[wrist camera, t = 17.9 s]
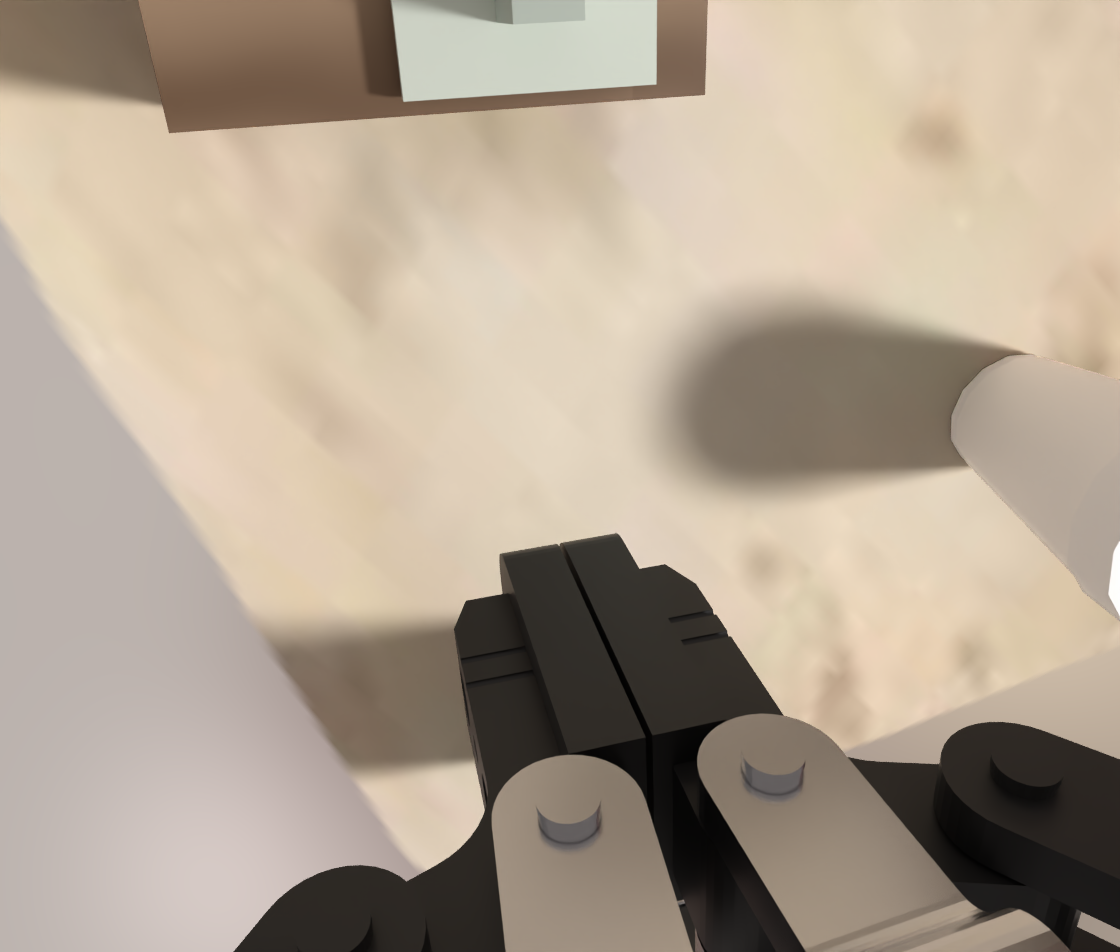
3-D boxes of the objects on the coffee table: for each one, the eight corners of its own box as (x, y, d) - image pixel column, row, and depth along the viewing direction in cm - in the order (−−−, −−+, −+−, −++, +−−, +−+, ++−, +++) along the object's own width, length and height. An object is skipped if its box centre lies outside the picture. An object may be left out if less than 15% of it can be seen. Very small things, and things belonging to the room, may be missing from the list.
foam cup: (941, 518, 49) (1119, 670, 38) (904, 380, 45) (1095, 506, 33) (1097, 439, 49) (1323, 568, 38) (1076, 292, 44) (1326, 389, 33)
